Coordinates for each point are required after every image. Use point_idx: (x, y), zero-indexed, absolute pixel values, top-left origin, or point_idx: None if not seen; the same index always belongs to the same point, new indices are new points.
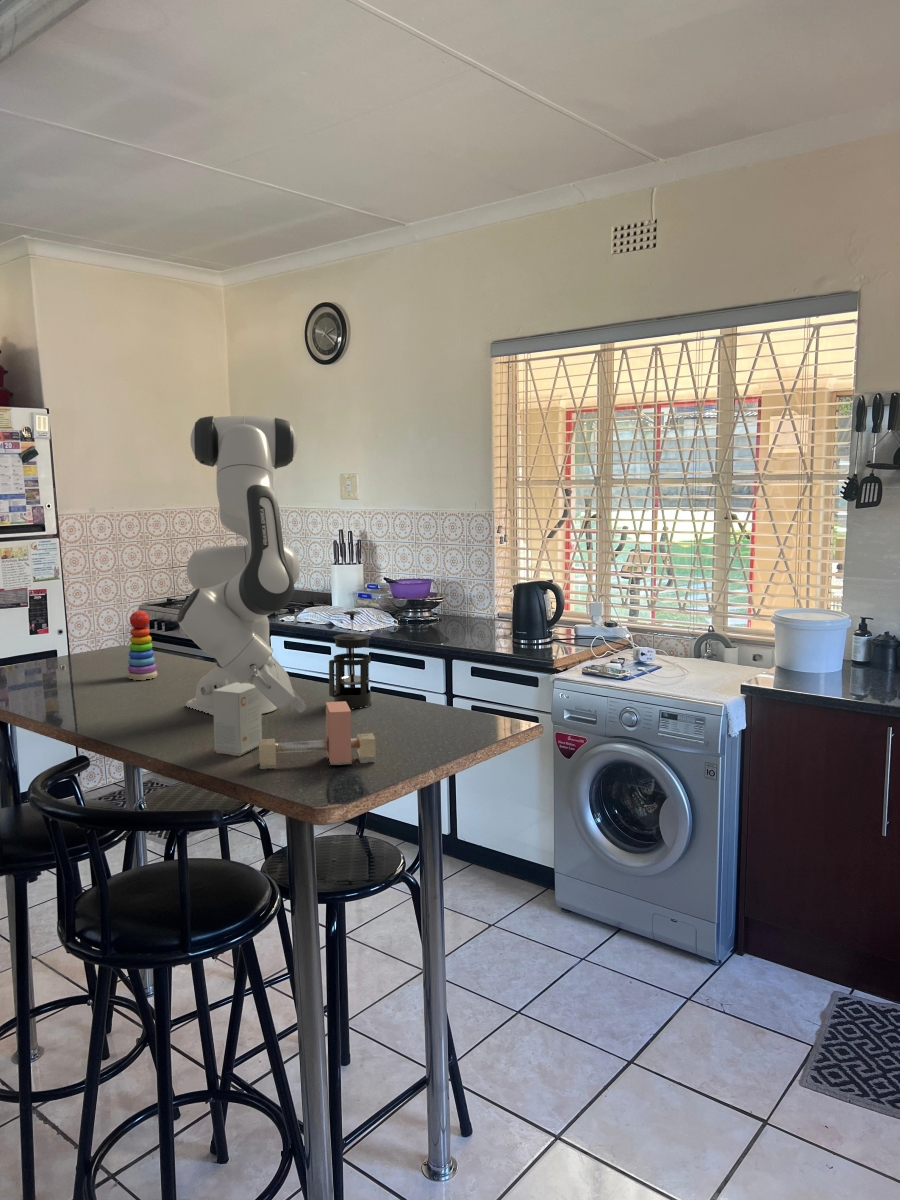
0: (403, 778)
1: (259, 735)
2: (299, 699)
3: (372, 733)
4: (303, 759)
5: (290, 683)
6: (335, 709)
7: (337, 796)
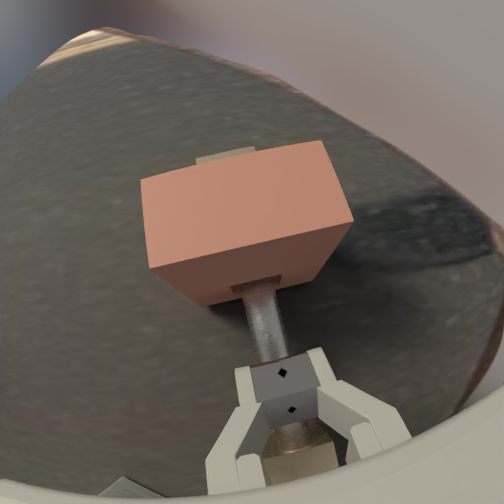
0: (352, 130)
1: (122, 493)
2: (336, 389)
3: (199, 158)
4: (229, 367)
5: (283, 496)
6: (296, 202)
7: (467, 240)
